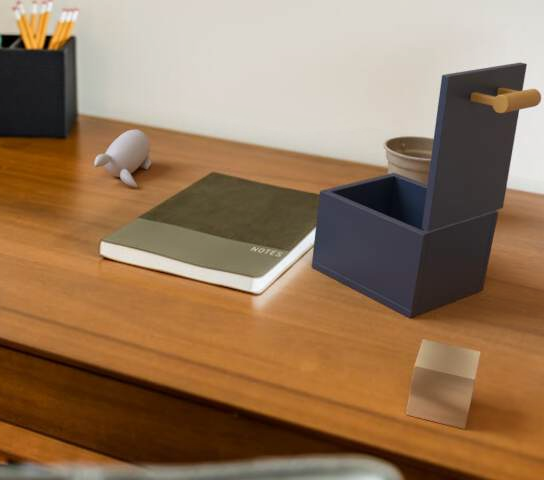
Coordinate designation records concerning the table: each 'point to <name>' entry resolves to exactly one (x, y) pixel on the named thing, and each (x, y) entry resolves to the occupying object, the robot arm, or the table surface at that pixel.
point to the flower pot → (409, 156)
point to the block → (443, 383)
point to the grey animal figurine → (126, 156)
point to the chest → (399, 245)
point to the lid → (474, 142)
